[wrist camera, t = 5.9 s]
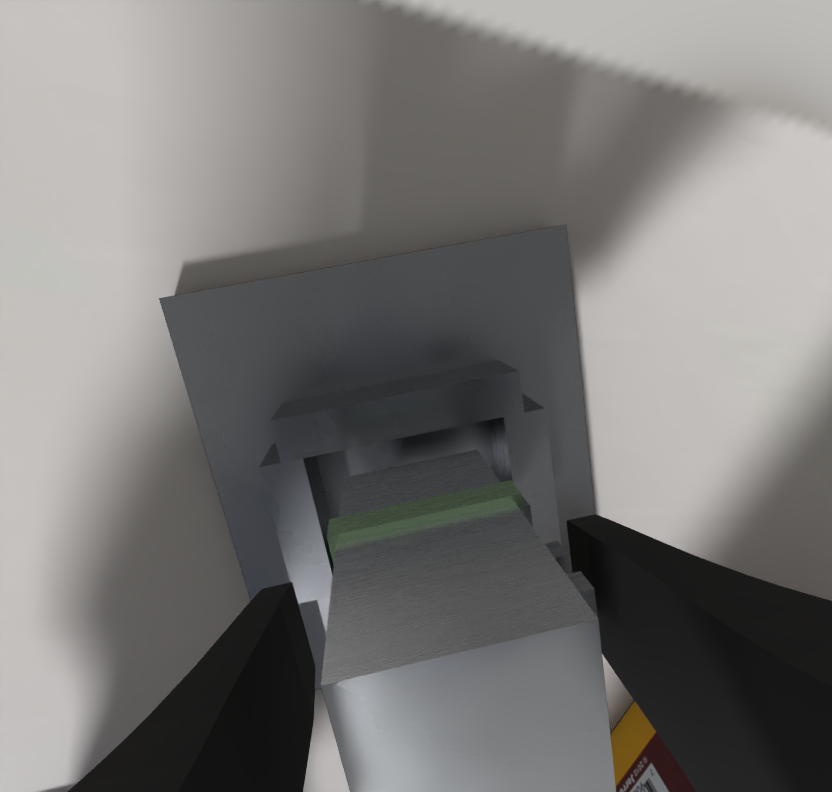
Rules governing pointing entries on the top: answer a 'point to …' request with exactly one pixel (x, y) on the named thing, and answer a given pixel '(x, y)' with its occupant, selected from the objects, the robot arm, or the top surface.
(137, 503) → the top surface
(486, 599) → the gray slotted block
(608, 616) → the robot arm
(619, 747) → the supplement box
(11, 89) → the top surface
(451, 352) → the stand base
